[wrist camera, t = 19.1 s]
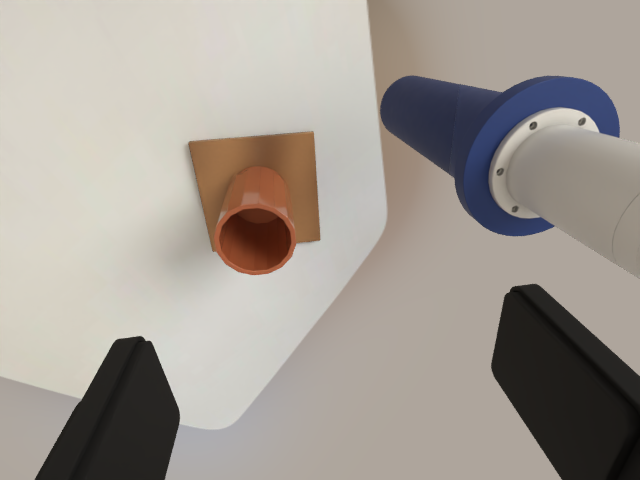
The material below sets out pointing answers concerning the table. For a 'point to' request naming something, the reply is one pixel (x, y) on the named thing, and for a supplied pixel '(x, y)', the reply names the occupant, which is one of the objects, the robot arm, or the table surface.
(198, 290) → the table surface
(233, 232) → the tumbler
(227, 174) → the cork mat
